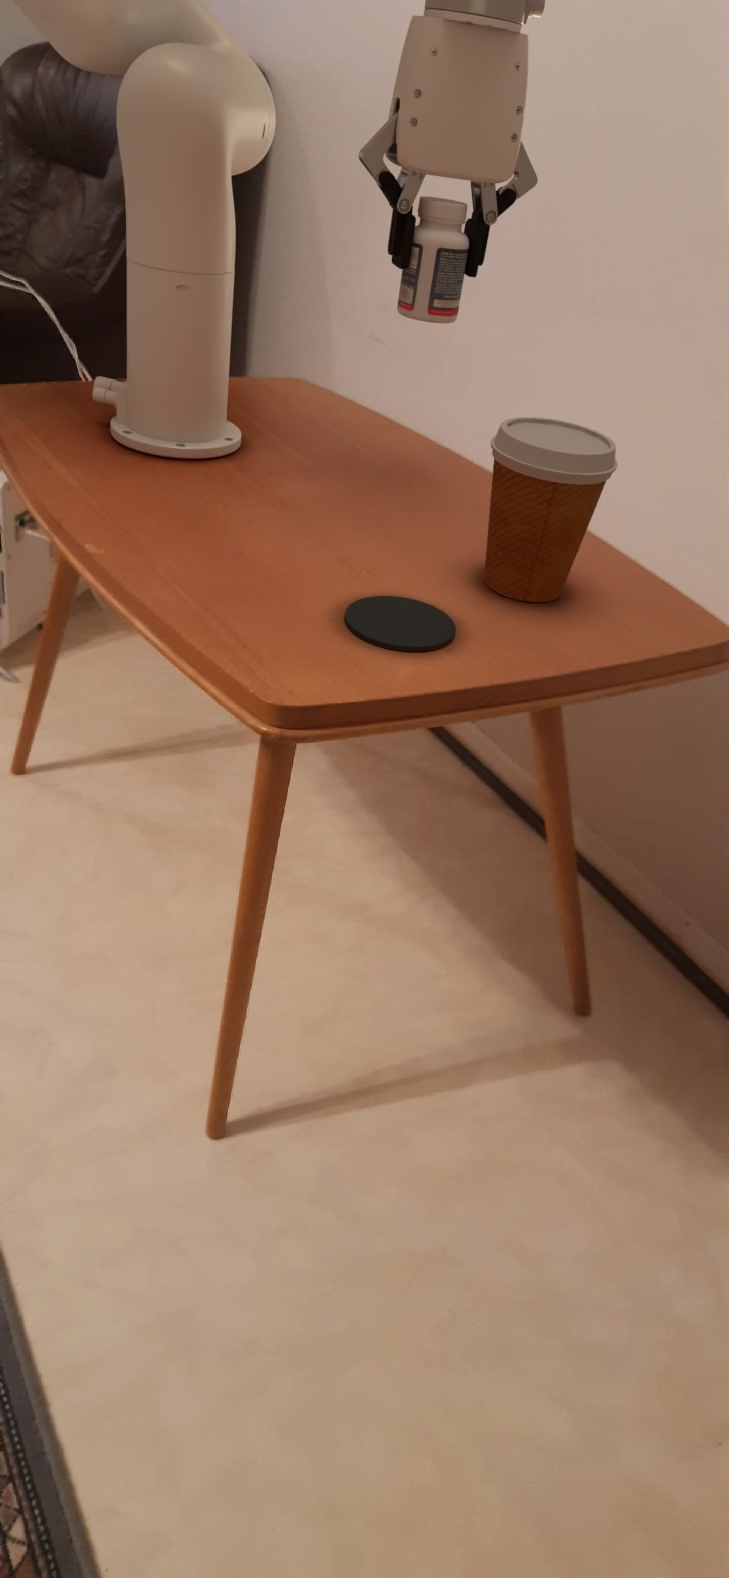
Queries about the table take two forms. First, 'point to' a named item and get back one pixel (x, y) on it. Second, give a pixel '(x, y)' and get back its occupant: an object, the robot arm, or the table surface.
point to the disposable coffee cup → (542, 503)
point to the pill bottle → (435, 263)
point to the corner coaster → (400, 623)
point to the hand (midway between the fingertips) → (433, 267)
